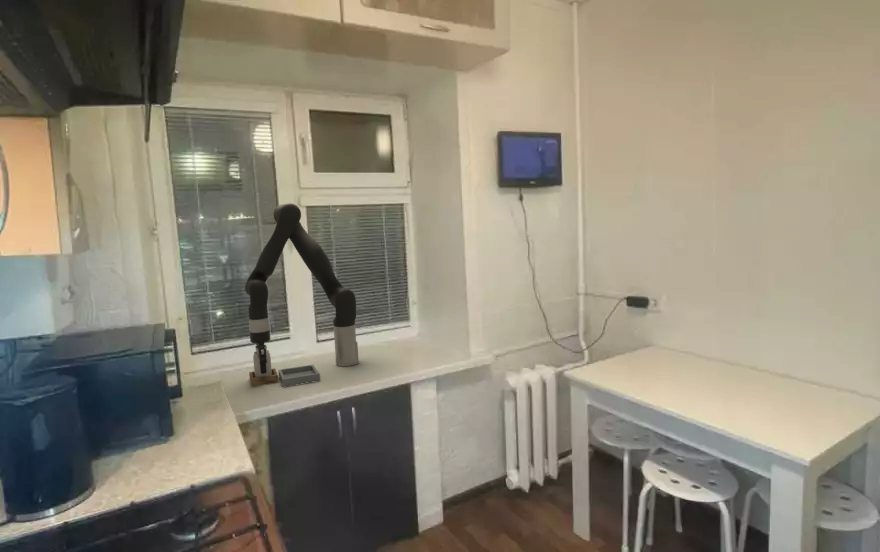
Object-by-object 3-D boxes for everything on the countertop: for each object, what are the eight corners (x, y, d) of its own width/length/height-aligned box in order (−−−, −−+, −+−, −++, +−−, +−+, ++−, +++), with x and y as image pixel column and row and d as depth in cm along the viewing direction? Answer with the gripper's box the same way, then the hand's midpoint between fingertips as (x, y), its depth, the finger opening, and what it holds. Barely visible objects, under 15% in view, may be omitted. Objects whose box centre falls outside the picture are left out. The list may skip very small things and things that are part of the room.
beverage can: (267, 383, 201) (264, 353, 199) (252, 383, 202) (249, 353, 201) (275, 378, 207) (272, 349, 206) (260, 378, 208) (258, 349, 207)
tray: (313, 371, 214) (313, 364, 214) (320, 380, 202) (319, 373, 201) (278, 376, 209) (278, 369, 208) (283, 387, 196) (282, 379, 196)
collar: (275, 375, 211) (275, 368, 211) (278, 382, 202) (277, 374, 202) (249, 379, 207) (249, 372, 207) (251, 386, 198) (250, 379, 198)
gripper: (271, 331, 197) (274, 374, 199) (267, 325, 210) (270, 365, 212) (250, 334, 194) (254, 377, 196) (248, 327, 207) (251, 367, 209)
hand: (262, 370), depth 204 cm, fingers closed on beverage can, 5 cm apart
